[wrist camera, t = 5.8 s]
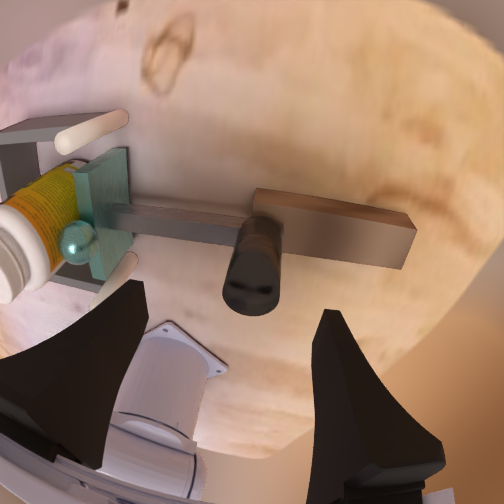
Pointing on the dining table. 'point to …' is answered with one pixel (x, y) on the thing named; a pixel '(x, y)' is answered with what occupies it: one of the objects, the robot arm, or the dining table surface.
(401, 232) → the guide
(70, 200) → the supplement bottle
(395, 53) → the dining table surface
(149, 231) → the slider rail assembly
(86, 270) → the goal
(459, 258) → the dining table surface
